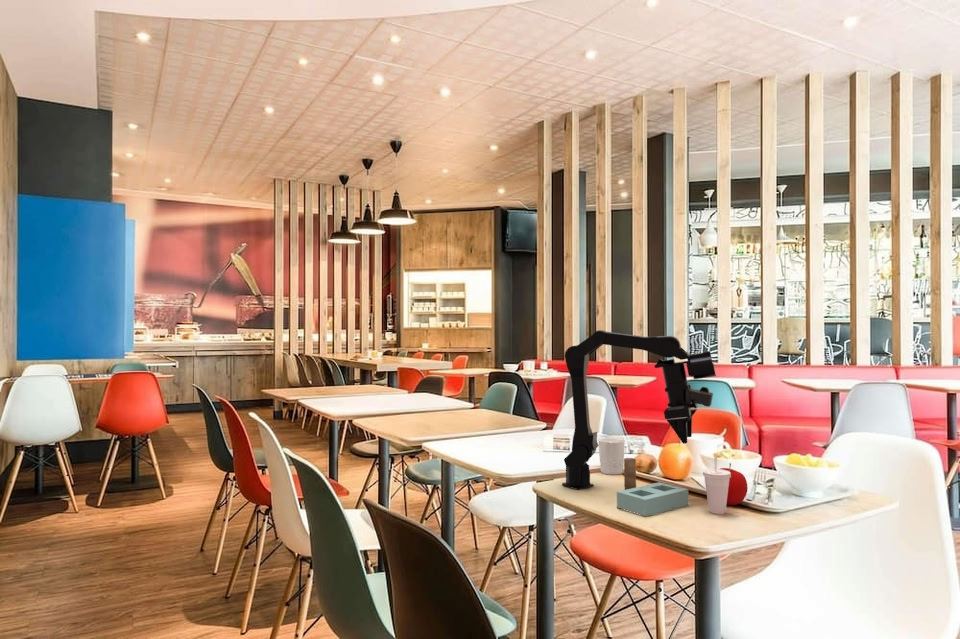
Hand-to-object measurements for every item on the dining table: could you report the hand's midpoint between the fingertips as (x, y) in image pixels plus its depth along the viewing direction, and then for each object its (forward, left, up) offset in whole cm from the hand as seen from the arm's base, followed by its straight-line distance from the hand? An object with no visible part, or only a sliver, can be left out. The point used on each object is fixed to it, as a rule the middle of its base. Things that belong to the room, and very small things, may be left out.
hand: (687, 440), depth 166 cm
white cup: (-30, +3, -15) cm, 34 cm away
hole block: (+2, -16, -15) cm, 22 cm away
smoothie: (+14, -7, -15) cm, 21 cm away
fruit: (+11, +2, -15) cm, 18 cm away
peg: (-9, -12, -15) cm, 21 cm away
